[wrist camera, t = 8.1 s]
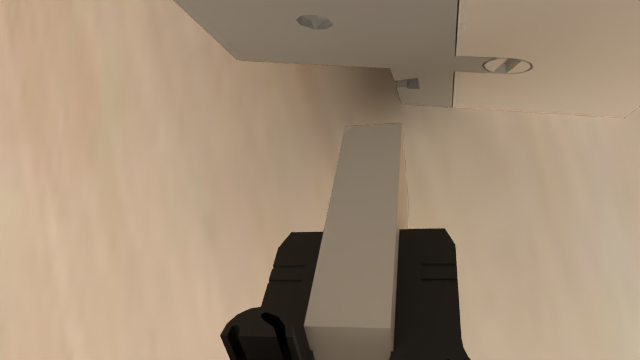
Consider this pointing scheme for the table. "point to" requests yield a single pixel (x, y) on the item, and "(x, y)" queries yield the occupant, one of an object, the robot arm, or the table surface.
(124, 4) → the table surface
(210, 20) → the circuit breaker
